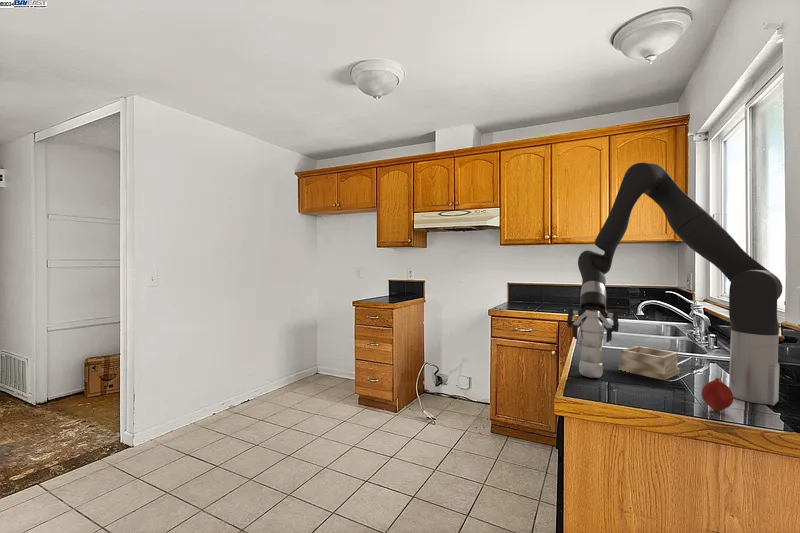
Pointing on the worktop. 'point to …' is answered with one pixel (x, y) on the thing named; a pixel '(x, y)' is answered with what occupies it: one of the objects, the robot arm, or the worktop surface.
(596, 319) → the silver bottle
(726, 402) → the onion
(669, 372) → the wooden tray
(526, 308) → the worktop surface
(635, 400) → the worktop surface
